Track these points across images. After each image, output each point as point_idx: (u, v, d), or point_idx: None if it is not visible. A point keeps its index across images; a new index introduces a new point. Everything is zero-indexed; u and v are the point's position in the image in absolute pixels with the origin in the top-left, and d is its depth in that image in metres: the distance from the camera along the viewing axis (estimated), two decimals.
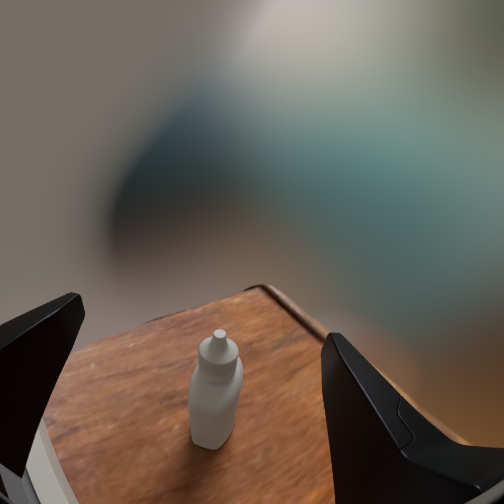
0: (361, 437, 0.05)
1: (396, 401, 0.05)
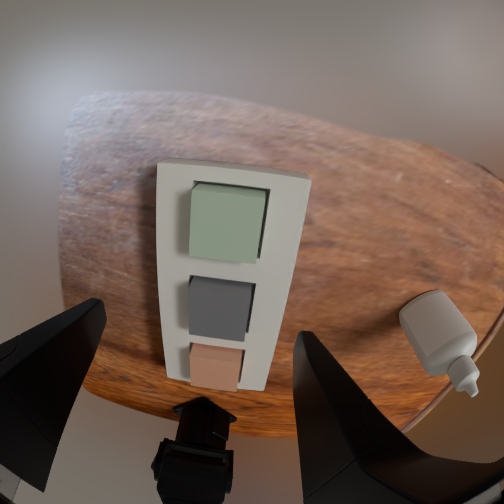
0: (324, 440, 0.05)
1: (361, 404, 0.05)
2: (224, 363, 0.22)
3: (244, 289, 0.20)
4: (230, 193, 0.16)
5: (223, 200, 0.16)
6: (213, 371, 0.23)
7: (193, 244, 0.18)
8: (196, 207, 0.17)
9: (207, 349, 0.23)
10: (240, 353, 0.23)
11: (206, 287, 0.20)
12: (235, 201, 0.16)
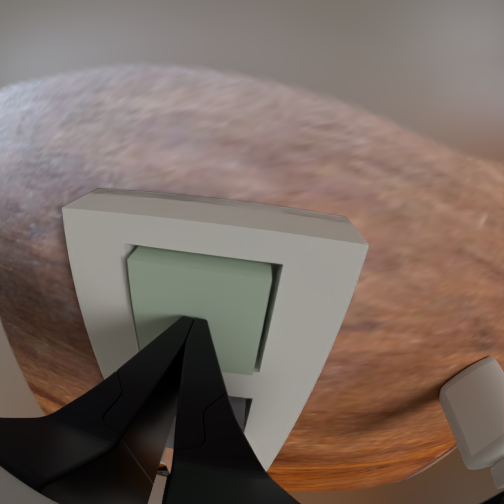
0: None
1: (214, 398, 0.05)
2: None
3: (233, 409, 0.11)
4: (200, 267, 0.08)
5: (187, 281, 0.08)
6: None
7: (145, 343, 0.09)
8: (139, 290, 0.08)
9: None
10: None
11: None
12: (211, 283, 0.08)
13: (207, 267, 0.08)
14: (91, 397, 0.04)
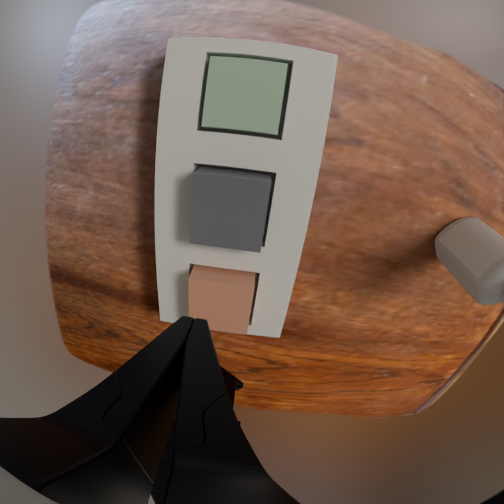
0: None
1: (214, 398, 0.05)
2: (232, 288, 0.18)
3: (262, 177, 0.16)
4: (250, 59, 0.13)
5: (243, 64, 0.13)
6: (218, 302, 0.19)
7: (207, 112, 0.14)
8: (213, 72, 0.13)
9: (211, 272, 0.19)
10: (253, 277, 0.19)
11: (215, 173, 0.15)
12: (256, 65, 0.13)
13: (254, 59, 0.13)
14: (91, 397, 0.04)
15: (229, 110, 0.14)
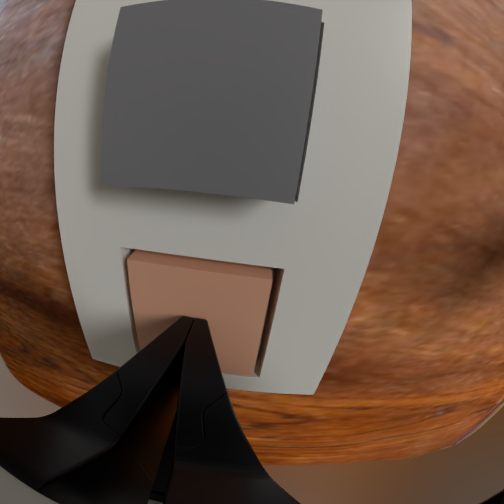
0: None
1: (214, 398, 0.05)
2: (222, 283, 0.08)
3: None
4: None
5: None
6: (192, 314, 0.09)
7: None
8: None
9: None
10: None
11: None
12: None
13: None
14: (91, 397, 0.04)
15: None
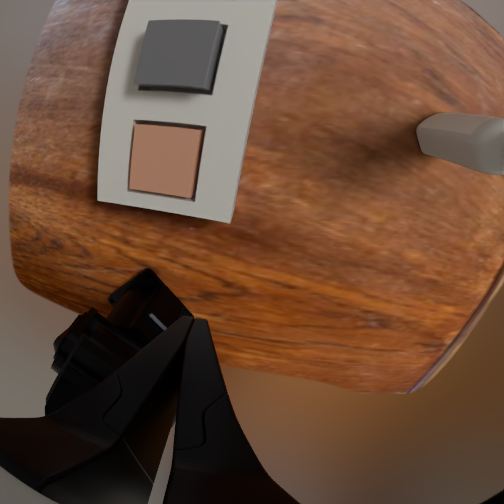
0: None
1: (214, 398, 0.05)
2: (177, 132, 0.16)
3: None
4: None
5: None
6: (161, 152, 0.16)
7: None
8: None
9: (160, 125, 0.16)
10: (202, 129, 0.17)
11: None
12: None
13: None
14: (91, 397, 0.04)
15: None
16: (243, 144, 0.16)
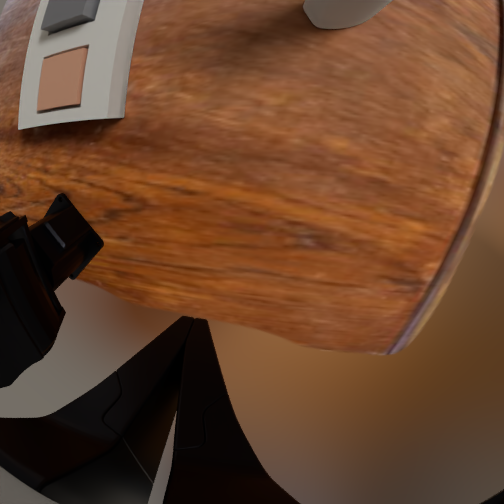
0: None
1: (214, 398, 0.05)
2: (68, 55, 0.13)
3: None
4: None
5: None
6: (58, 73, 0.13)
7: None
8: None
9: None
10: None
11: None
12: None
13: None
14: (91, 397, 0.04)
15: None
16: (115, 47, 0.13)
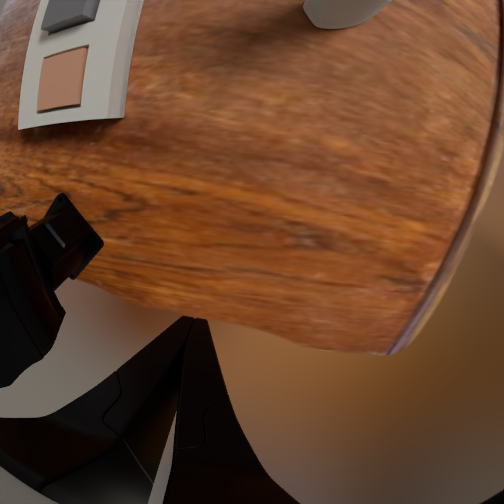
0: None
1: (214, 398, 0.05)
2: (68, 55, 0.13)
3: None
4: None
5: None
6: (58, 73, 0.13)
7: None
8: None
9: None
10: None
11: None
12: None
13: None
14: (91, 397, 0.04)
15: None
16: (115, 47, 0.13)
